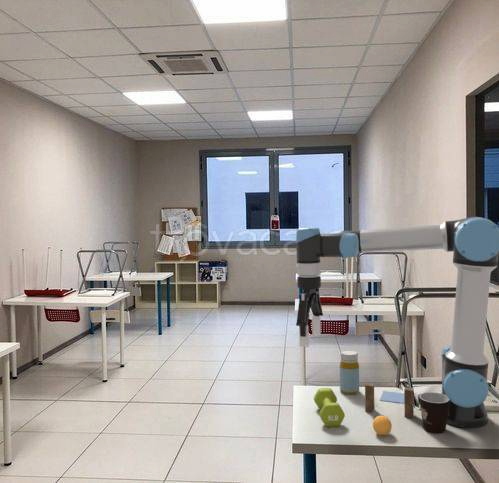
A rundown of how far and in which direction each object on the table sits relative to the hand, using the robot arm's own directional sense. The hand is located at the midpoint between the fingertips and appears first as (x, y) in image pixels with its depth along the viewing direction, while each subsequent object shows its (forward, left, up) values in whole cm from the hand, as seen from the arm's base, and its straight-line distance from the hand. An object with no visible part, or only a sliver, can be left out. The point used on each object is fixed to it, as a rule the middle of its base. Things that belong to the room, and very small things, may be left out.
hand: (310, 340), depth 159 cm
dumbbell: (-5, -2, -26) cm, 27 cm away
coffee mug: (-37, -6, -26) cm, 45 cm away
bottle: (-7, -26, -26) cm, 37 cm away
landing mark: (-23, -26, -26) cm, 43 cm away
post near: (-29, -12, -26) cm, 41 cm away
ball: (-23, +4, -23) cm, 33 cm away
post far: (-17, -12, -26) cm, 33 cm away
